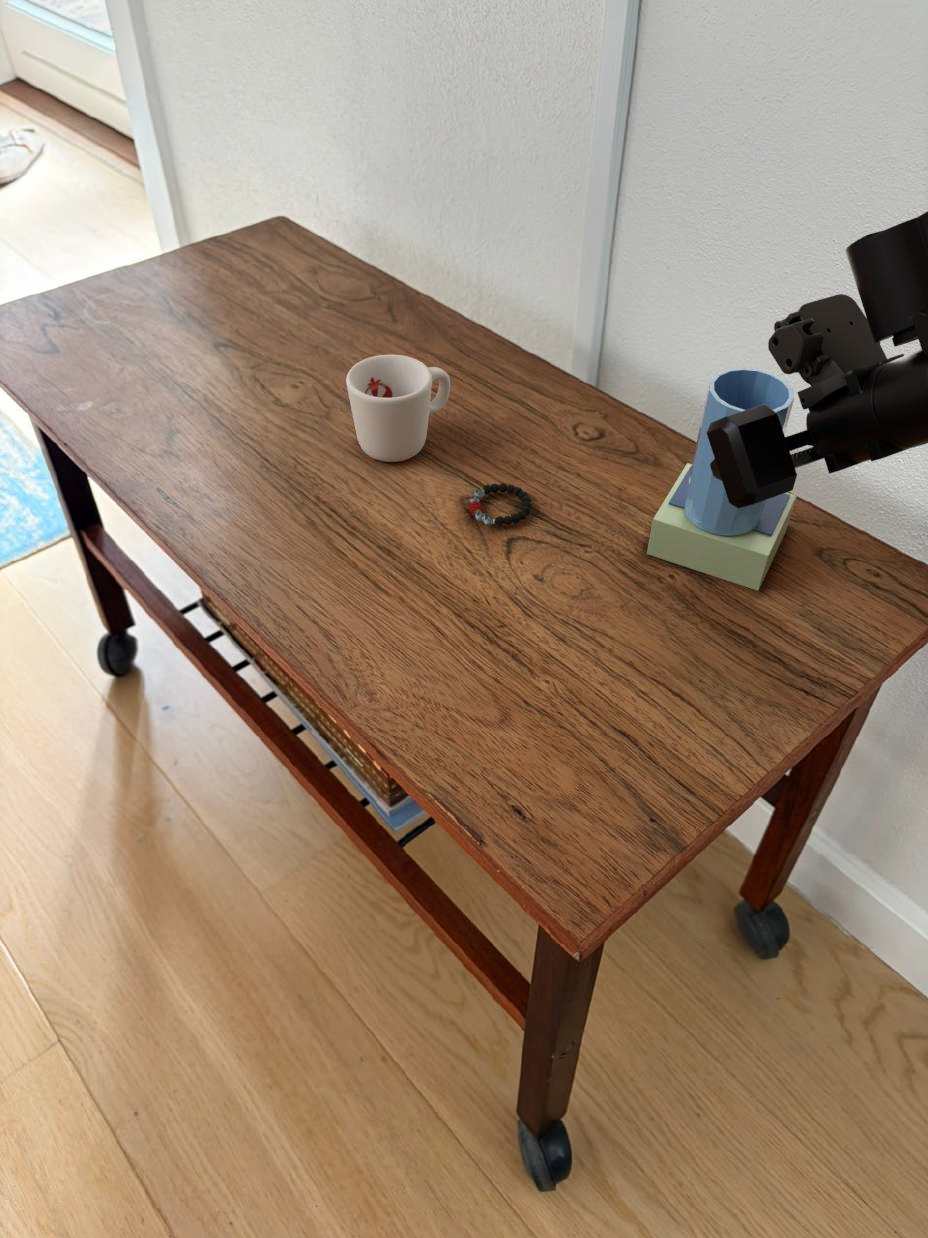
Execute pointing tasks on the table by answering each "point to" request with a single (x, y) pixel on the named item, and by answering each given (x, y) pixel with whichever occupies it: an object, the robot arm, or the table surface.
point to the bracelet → (507, 520)
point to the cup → (394, 404)
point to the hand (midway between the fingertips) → (760, 453)
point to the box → (719, 539)
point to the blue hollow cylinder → (704, 490)
